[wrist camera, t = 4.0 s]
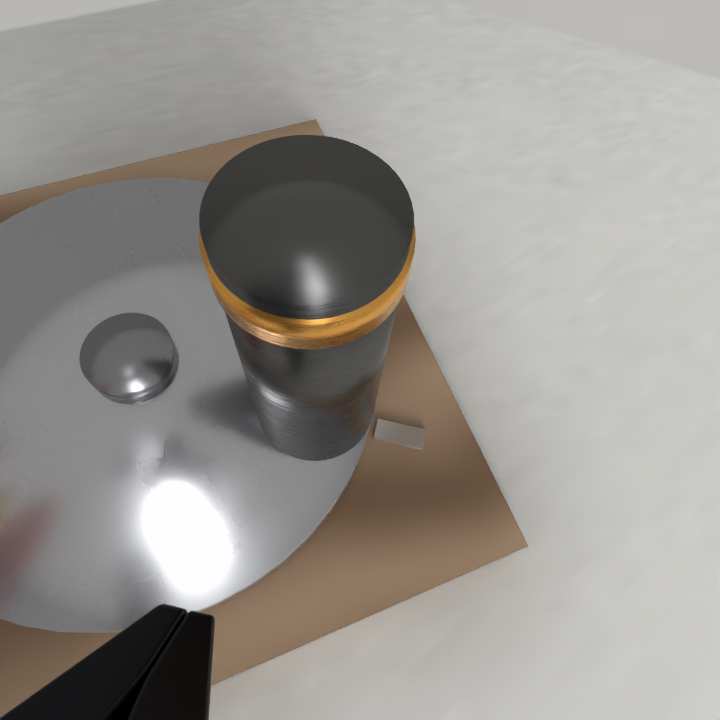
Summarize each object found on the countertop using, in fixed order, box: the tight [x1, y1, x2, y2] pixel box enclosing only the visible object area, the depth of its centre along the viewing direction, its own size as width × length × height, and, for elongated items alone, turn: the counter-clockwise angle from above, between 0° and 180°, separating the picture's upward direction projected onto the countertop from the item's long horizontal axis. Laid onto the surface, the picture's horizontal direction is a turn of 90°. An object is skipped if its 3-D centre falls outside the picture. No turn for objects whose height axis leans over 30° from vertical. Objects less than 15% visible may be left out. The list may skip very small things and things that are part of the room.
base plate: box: [0, 119, 528, 717], centre depth 22 cm, size 21×21×2 cm
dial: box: [0, 135, 415, 633], centre depth 16 cm, size 17×17×11 cm
